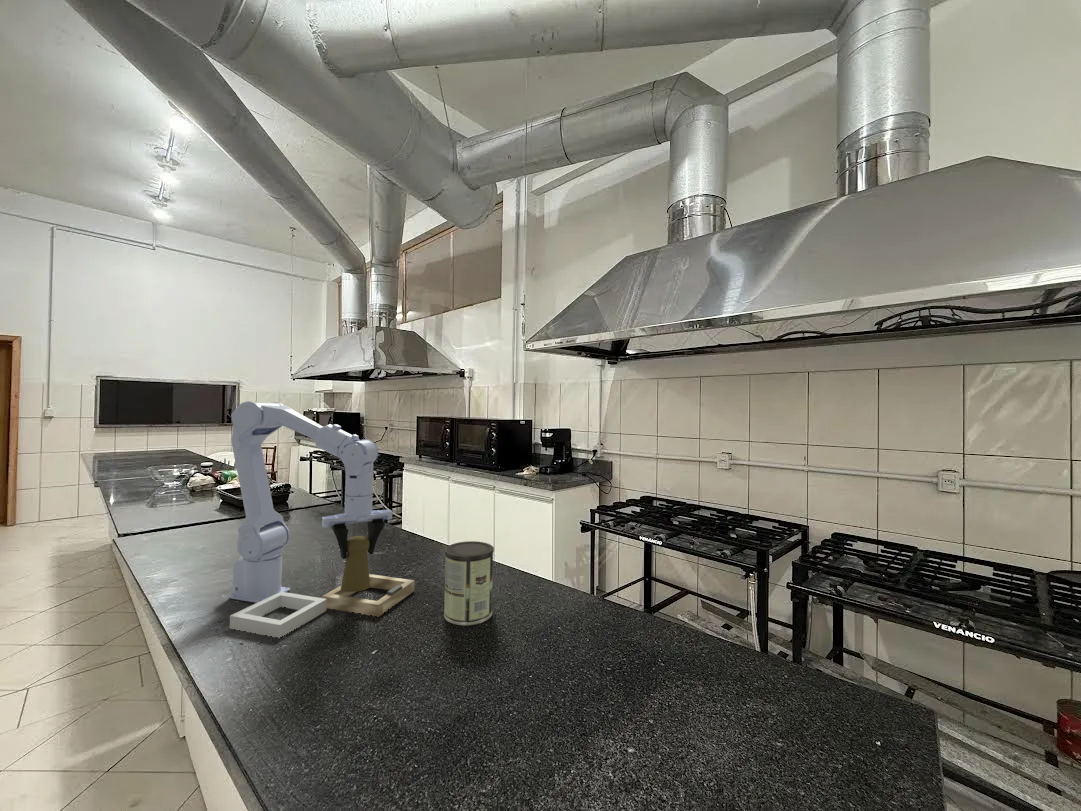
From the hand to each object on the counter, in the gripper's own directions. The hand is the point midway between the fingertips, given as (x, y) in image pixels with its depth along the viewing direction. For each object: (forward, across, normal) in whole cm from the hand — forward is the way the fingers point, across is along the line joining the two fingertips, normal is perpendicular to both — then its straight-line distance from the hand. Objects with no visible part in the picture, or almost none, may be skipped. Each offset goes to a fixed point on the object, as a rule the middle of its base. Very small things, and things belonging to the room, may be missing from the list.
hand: (357, 555), depth 99 cm
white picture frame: (+10, -15, 0) cm, 18 cm away
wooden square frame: (+10, +3, 0) cm, 11 cm away
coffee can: (+11, +18, -19) cm, 28 cm away
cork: (+7, 0, -1) cm, 7 cm away
